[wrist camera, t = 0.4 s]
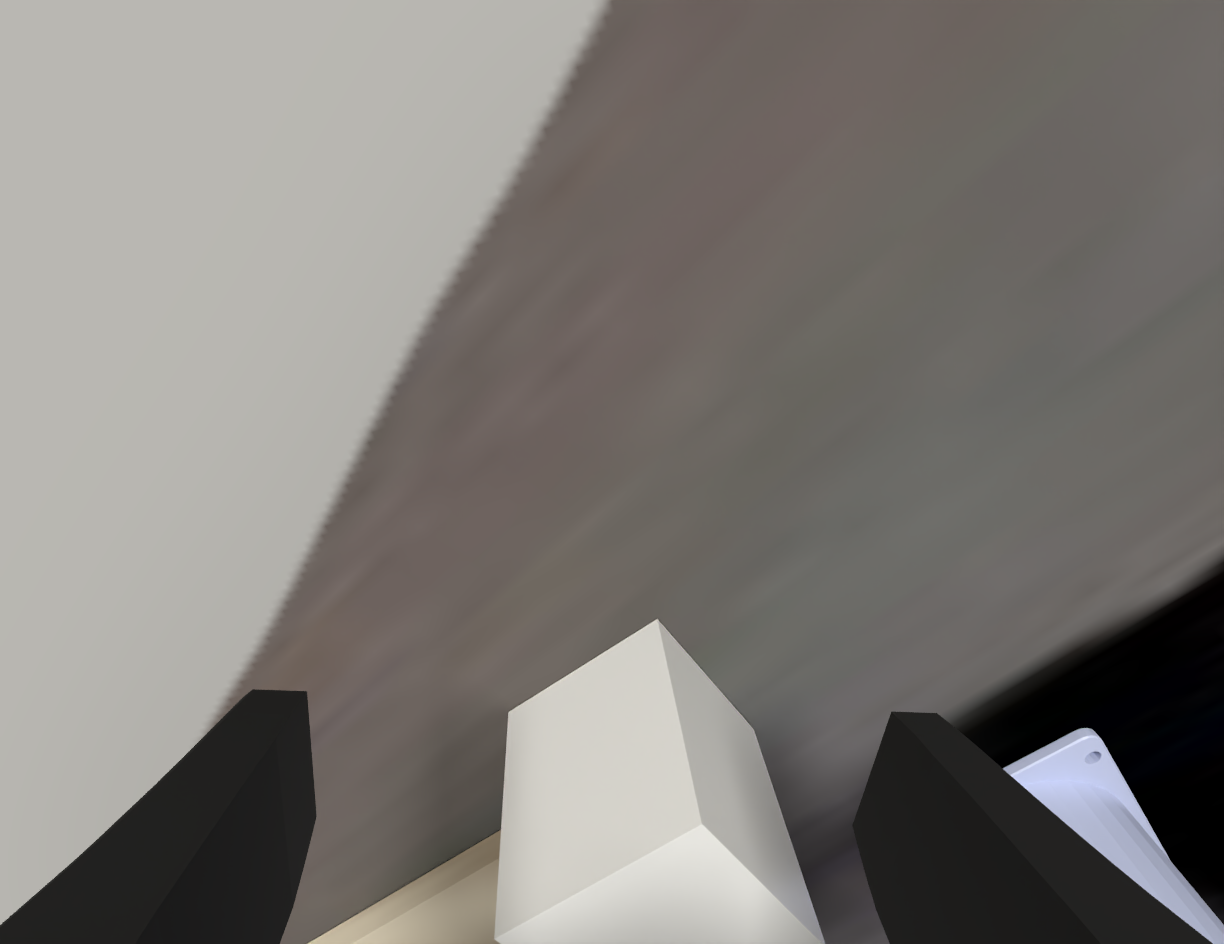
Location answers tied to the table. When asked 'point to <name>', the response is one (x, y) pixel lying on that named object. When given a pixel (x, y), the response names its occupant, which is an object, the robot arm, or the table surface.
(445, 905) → the beige square base
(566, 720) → the white rectangular block
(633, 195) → the table surface
